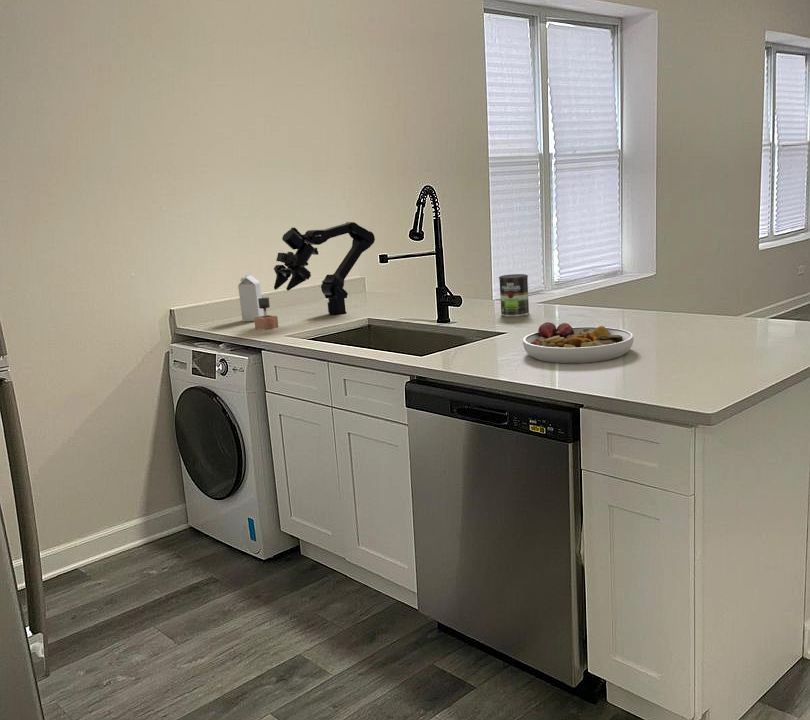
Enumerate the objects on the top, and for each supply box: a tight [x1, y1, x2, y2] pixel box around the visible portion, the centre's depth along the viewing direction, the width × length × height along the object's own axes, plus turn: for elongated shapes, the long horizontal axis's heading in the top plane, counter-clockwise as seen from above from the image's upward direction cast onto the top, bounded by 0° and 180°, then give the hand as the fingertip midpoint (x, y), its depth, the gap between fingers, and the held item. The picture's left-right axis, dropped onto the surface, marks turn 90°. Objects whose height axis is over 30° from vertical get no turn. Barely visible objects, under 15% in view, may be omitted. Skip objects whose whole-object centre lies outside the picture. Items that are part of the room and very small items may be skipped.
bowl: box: [522, 321, 634, 364], centre depth 234 cm, size 30×30×8 cm
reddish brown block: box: [253, 314, 279, 330], centre depth 320 cm, size 6×9×4 cm
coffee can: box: [498, 273, 530, 318], centre depth 304 cm, size 10×10×14 cm
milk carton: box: [237, 272, 264, 323], centre depth 341 cm, size 7×7×19 cm
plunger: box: [258, 296, 270, 318], centre depth 320 cm, size 4×4×10 cm
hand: (280, 289), depth 324 cm, fingers open, 9 cm apart
